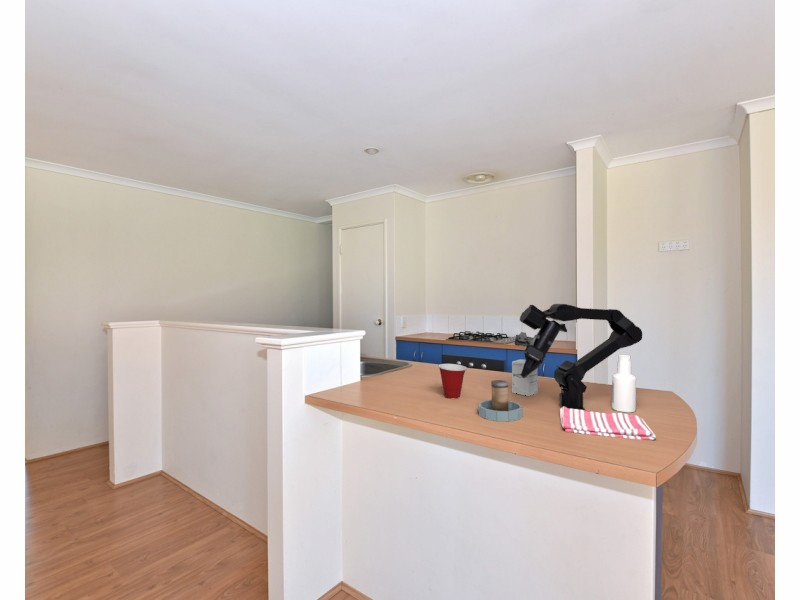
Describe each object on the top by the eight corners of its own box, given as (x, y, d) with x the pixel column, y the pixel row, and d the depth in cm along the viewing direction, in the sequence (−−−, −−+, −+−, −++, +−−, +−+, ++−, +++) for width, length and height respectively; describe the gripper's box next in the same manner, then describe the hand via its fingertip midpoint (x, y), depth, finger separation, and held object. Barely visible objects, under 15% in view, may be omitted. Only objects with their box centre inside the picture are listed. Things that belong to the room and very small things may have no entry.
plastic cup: (466, 401, 144) (466, 368, 143) (437, 400, 146) (436, 367, 146) (467, 393, 154) (467, 363, 154) (440, 392, 156) (439, 362, 156)
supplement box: (511, 393, 154) (511, 361, 153) (521, 389, 159) (521, 358, 158) (528, 396, 148) (528, 363, 148) (538, 393, 153) (538, 360, 153)
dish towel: (559, 416, 127) (559, 405, 126) (642, 422, 119) (642, 411, 119) (562, 434, 110) (562, 421, 110) (658, 443, 103) (658, 430, 103)
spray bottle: (631, 406, 132) (633, 353, 131) (638, 413, 126) (639, 358, 124) (609, 405, 134) (610, 353, 133) (614, 412, 128) (615, 357, 126)
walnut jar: (511, 411, 128) (510, 381, 128) (505, 416, 124) (505, 384, 123) (495, 409, 131) (494, 379, 131) (489, 413, 126) (488, 382, 126)
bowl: (517, 408, 133) (517, 400, 133) (525, 421, 120) (525, 412, 120) (477, 408, 135) (477, 399, 135) (480, 420, 121) (480, 411, 121)
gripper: (524, 329, 144) (502, 365, 143) (523, 320, 126) (498, 362, 126) (553, 344, 139) (531, 382, 139) (556, 337, 122) (530, 381, 122)
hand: (522, 376), depth 131 cm, fingers open, 9 cm apart
